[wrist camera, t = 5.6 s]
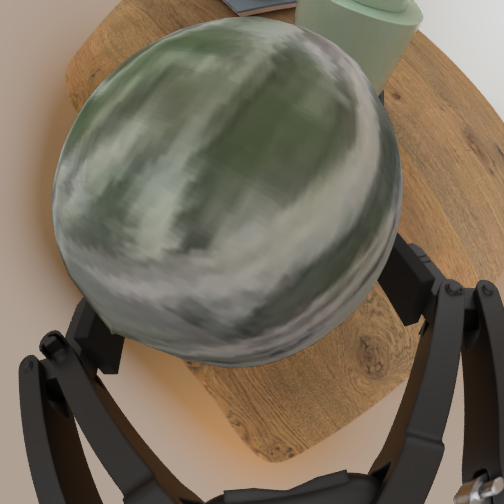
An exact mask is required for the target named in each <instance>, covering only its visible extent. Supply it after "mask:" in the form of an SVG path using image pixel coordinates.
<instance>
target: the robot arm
mask: <svg viewBox="0 0 504 504" xmlns="http://www.w3.org/2000/svg"><path fill="white" fill-rule="evenodd" d="M377 281H378V282H379V284H380V286H381V287H382V289H383V290H384V292H385V294H386V295H387V297H388V299H389V300H390V302H391V304H392V305H393V307H394V309H395V310H396V312H397V314H398V316H399V317H400V319H401V321H402V323H403V324H404V326H408V325H411V324H414V323H417V322H418V321H419V319H420V316H421V314H422V315H423V316H424V318H425V321H424V324H423V326H422V328H421V330H420V332H419V335H421V336H420V340H419V344H418V348H417V352H416V356H415V359H414V363H413V367H412V370H411V373H410V377H409V380H408V383H407V386H406V389H405V393H404V395H403V398H402V401H401V404H400V407H399V409H398V412H397V415H396V418H395V420H394V423H393V425H392V428H391V430H390V432H389V435H388V437H387V439H386V442H385V444H384V447H383V448H382V450H381V452H380V454H379V455H378V457H377V458H376V460H375V461H374V463H373V465H372V467H371V468H370V471H369V472H368V474H367V475H366V474H361V473H347V470H343V471H339V472H335V473H332V474H328V475H324V476H320V477H316V478H314V479H312V480H310V481H308V482H306V483H303V484H302V485H299V486H297V487H294V488H292V489H290V490H269V489H257V488H250V489H239V490H226V491H224V494H223V495H219V496H217V497H215V498H213V499H211V500H209V501H207V502H206V503H205V502H203V501H202V500H201V499H200V498H199V497H198V496H197V495H196V494H195V493H193V492H192V491H191V490H189V489H188V488H187V487H185V486H184V485H183V484H182V483H181V482H180V481H179V480H178V479H177V478H176V477H175V476H174V475H173V474H172V473H171V472H170V471H169V469H168V468H167V467H166V466H165V465H164V464H163V463H162V462H161V461H160V460H159V458H158V457H157V456H156V455H155V454H154V452H153V451H152V450H151V449H150V448H149V446H148V445H147V444H146V443H145V442H144V440H143V439H142V438H141V437H140V435H139V434H138V433H137V431H136V430H135V429H134V427H133V426H132V425H131V423H130V422H129V421H128V419H127V418H126V417H125V415H124V414H123V412H122V411H121V410H120V408H119V407H118V405H117V404H116V402H115V401H114V399H113V398H112V396H111V395H110V393H109V392H108V390H107V389H106V387H105V386H104V384H103V382H102V381H101V379H100V378H99V377H98V376H97V370H98V368H99V369H100V370H101V372H102V373H103V374H118V370H119V365H120V359H121V353H122V349H123V343H124V339H125V337H123V336H121V335H118V334H111V331H110V329H109V328H108V327H107V326H106V324H105V323H104V322H103V321H102V319H101V318H100V317H99V316H98V314H97V313H96V312H95V311H94V309H93V308H92V307H91V305H90V304H89V303H88V301H87V300H86V299H85V297H83V298H82V300H81V301H80V302H79V304H78V305H77V307H76V309H75V312H74V315H73V317H72V321H71V322H70V325H69V328H68V331H67V333H66V337H65V338H64V336H63V335H62V334H61V333H60V332H59V331H56V330H55V331H51V332H49V333H47V334H46V335H45V336H44V337H43V339H42V340H41V342H40V345H39V349H40V351H41V352H42V353H43V355H44V356H45V357H46V359H43V360H40V361H39V360H38V359H37V358H36V357H35V356H34V355H29V356H27V357H25V358H24V359H23V360H22V362H21V363H20V366H19V394H20V408H21V418H22V426H23V434H24V441H25V446H26V452H27V458H28V462H29V467H30V471H31V476H32V480H33V484H34V487H35V491H36V494H37V497H38V501H39V504H103V502H102V500H101V498H100V496H99V493H98V491H97V488H96V485H95V483H94V480H93V478H92V475H91V472H90V469H89V467H88V464H87V461H86V458H85V455H84V451H83V448H82V445H81V442H80V438H79V435H78V431H77V428H76V423H75V419H74V417H75V418H76V420H77V422H78V424H79V426H80V428H81V430H82V432H83V433H84V435H85V437H86V438H87V440H88V442H89V443H90V445H91V447H92V449H93V450H94V452H95V454H96V455H97V457H98V458H99V460H100V462H101V463H102V465H103V466H104V468H105V469H106V470H107V472H108V474H109V475H110V477H111V478H112V479H113V481H114V482H115V484H116V485H117V486H118V487H119V489H120V490H121V492H122V493H123V495H124V498H123V502H124V504H424V502H425V500H426V498H427V496H428V493H429V491H430V489H431V486H432V484H433V481H434V479H435V476H436V474H437V471H438V468H439V466H440V462H441V460H442V457H443V453H444V449H445V448H444V444H443V442H442V437H443V433H444V430H445V426H446V423H447V419H448V415H449V411H450V407H451V402H452V398H453V393H454V389H455V383H456V377H457V371H458V365H459V360H460V352H461V356H462V366H463V379H464V380H463V381H464V405H465V408H464V411H465V416H464V446H463V458H462V483H463V485H462V486H461V488H460V489H459V491H458V493H456V495H455V496H454V499H453V501H454V504H504V307H503V304H502V301H501V297H500V295H499V291H498V289H497V288H496V286H495V285H494V284H493V283H491V282H490V281H487V280H480V281H479V282H478V283H477V285H476V288H463V286H462V285H461V284H460V283H459V282H457V281H455V280H451V279H446V278H445V276H444V275H443V274H442V273H441V271H440V270H439V269H438V268H437V267H436V265H435V264H434V263H433V262H431V259H430V258H429V257H428V256H427V255H426V253H425V252H424V251H423V250H422V249H421V248H420V247H418V246H417V245H415V244H413V243H411V244H407V243H406V242H405V241H404V239H403V238H402V237H401V236H400V235H399V234H398V233H397V234H396V237H395V241H394V244H393V247H392V250H391V252H390V255H389V257H388V260H387V262H386V265H385V266H384V268H383V270H382V272H381V274H380V276H379V278H378V280H377Z"/></svg>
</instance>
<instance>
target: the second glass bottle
mask: <svg viewBox="0 0 504 504" xmlns="http://www.w3.org/2000/svg"><path fill="white" fill-rule="evenodd" d="M422 21H423V13H422V11H421V9H420V7H419V6H418V5H417V3H416V2H415V1H414V0H297V4H296V10H295V17H294V24H295V25H299V26H303V27H307V28H308V29H309V30H311V31H313V32H315V33H317V34H319V35H321V36H322V37H324V38H326V39H328V40H330V41H332V42H333V43H335V44H336V45H337V46H338V47H340V48H341V49H342V50H343V51H344V52H345V53H347V54H348V55H349V56H350V57H351V58H352V59H353V60H355V61H356V62H357V63H358V65H359V66H360V68H361V69H362V70H363V72H364V73H365V75H366V76H367V78H368V79H369V81H370V83H371V85H372V87H373V88H374V90H375V92H376V94H377V96H378V97H379V95H380V93H381V92H382V90H383V88H384V87H385V85H386V83H387V82H388V80H389V78H390V77H391V75H392V73H393V72H394V70H395V68H396V66H397V65H398V63H399V61H400V60H401V58H402V56H403V54H404V53H405V51H406V49H407V48H408V46H409V44H410V42H411V41H412V39H413V37H414V35H415V34H416V32H417V30H418V28H419V27H420V25H421V23H422Z"/></svg>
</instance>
